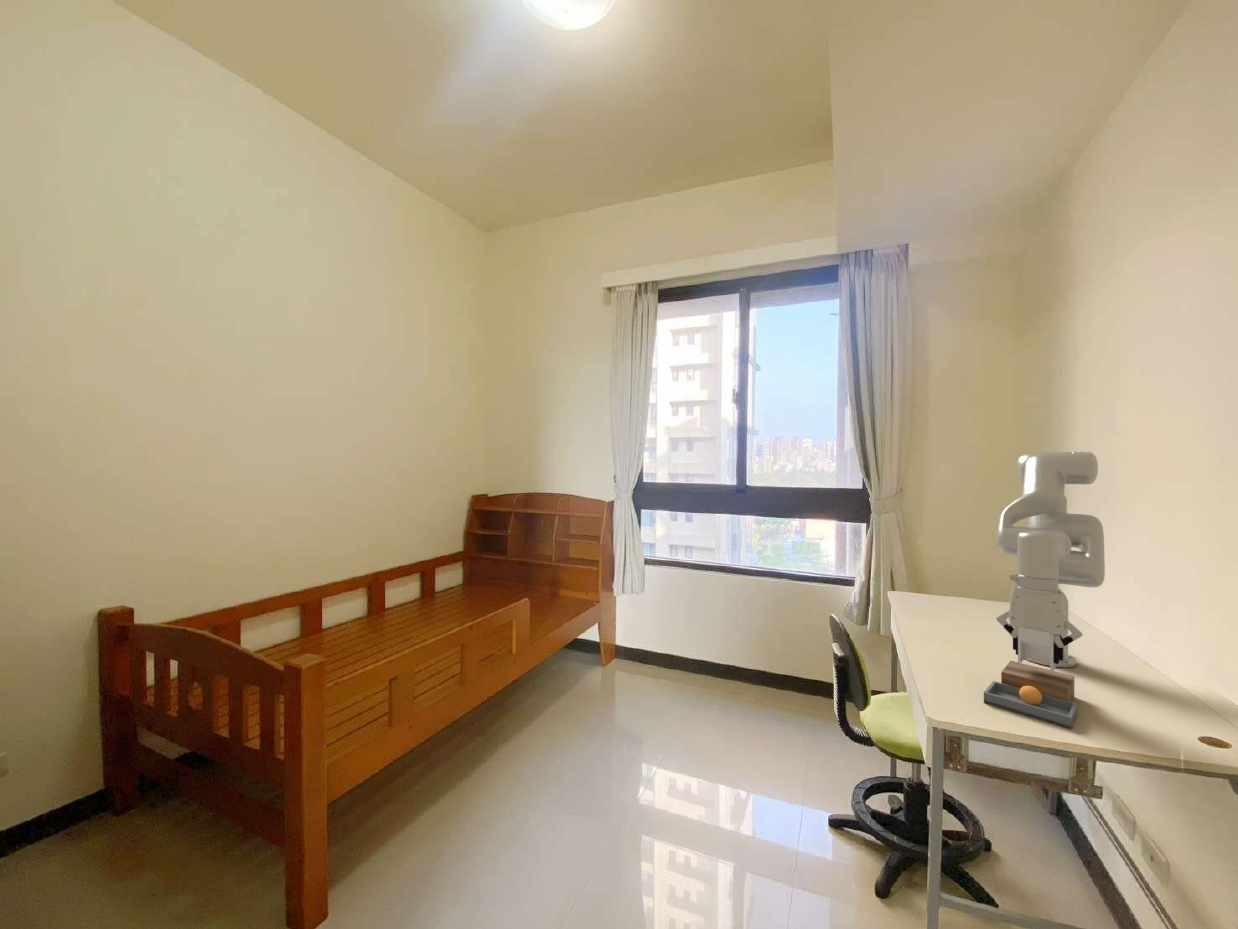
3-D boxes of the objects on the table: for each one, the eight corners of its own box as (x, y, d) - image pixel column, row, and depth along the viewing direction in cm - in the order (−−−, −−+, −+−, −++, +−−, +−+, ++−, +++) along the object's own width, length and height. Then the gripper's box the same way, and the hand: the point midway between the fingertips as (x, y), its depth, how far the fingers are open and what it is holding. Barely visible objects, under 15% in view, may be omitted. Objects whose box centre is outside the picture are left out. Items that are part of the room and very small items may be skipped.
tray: (993, 690, 118) (993, 680, 118) (1077, 714, 107) (1077, 703, 107) (983, 702, 112) (983, 692, 112) (1071, 729, 101) (1071, 717, 101)
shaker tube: (1023, 656, 121) (1023, 620, 121) (1057, 664, 116) (1057, 627, 116) (1017, 663, 116) (1017, 626, 116) (1052, 672, 112) (1052, 633, 112)
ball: (1018, 705, 111) (1021, 692, 114) (1041, 711, 108) (1044, 698, 111) (1016, 692, 110) (1020, 679, 113) (1039, 698, 107) (1042, 685, 110)
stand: (1010, 680, 124) (1010, 660, 124) (1074, 697, 115) (1074, 676, 115) (1001, 692, 117) (1001, 671, 117) (1068, 711, 108) (1068, 689, 108)
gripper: (989, 579, 120) (989, 651, 120) (1085, 593, 107) (1085, 674, 107) (996, 574, 125) (996, 644, 125) (1089, 587, 112) (1089, 665, 112)
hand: (1037, 657), depth 116 cm, fingers closed on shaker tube, 6 cm apart
